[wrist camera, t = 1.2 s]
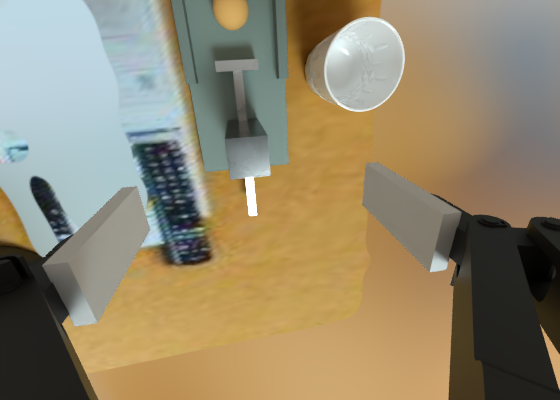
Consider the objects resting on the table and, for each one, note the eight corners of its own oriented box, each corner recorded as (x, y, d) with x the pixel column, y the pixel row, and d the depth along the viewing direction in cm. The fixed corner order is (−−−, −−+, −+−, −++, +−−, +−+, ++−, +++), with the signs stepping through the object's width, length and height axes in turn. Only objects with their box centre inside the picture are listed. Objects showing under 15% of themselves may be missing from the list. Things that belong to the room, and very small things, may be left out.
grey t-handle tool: (236, 211, 37) (237, 259, 27) (216, 62, 29) (207, 54, 19) (267, 207, 38) (280, 253, 28) (255, 60, 30) (267, 51, 20)
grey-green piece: (206, 167, 36) (202, 182, 31) (149, -156, 24) (125, -222, 18) (286, 159, 38) (294, 172, 32) (272, -151, 25) (282, -211, 20)
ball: (216, 33, 29) (214, 27, 25) (211, -7, 27) (208, -18, 24) (249, 32, 29) (251, 26, 26) (245, -8, 27) (247, -19, 24)
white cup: (346, 110, 36) (383, 120, 27) (291, 93, 34) (312, 98, 25) (369, 46, 33) (419, 34, 24) (311, 23, 31) (342, 2, 22)
